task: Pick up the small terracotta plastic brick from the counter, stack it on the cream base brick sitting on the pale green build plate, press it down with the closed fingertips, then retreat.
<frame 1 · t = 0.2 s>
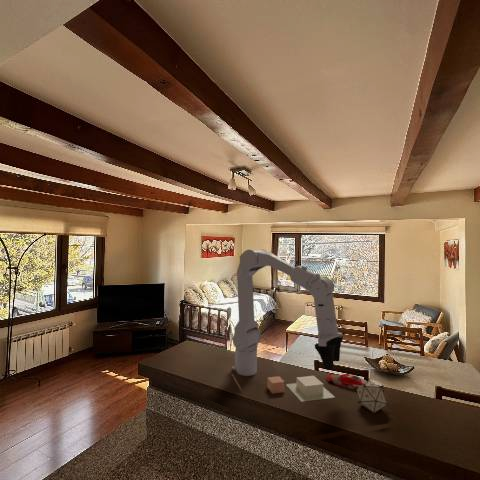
hand: (332, 365, 88), 11 cm above the breakfast bar, tool pointing down, fingers open, 7 cm apart
base brick: (309, 390, 93), point 1 cm above the breakfast bar, touching build plate
top brick: (275, 392, 93), on the breakfast bar
race car: (346, 388, 97), on the breakfast bar
build plate: (309, 393, 93), on the breakfast bar
game die: (371, 411, 83), on the breakfast bar
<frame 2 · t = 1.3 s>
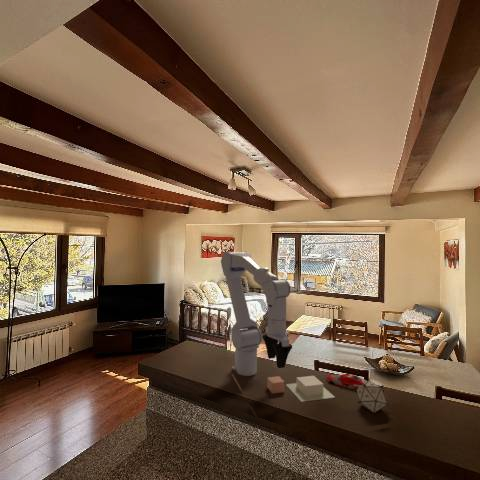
hand: (276, 362, 93), 9 cm above the breakfast bar, tool pointing down, fingers open, 7 cm apart
nothing on the breakfast bar moved.
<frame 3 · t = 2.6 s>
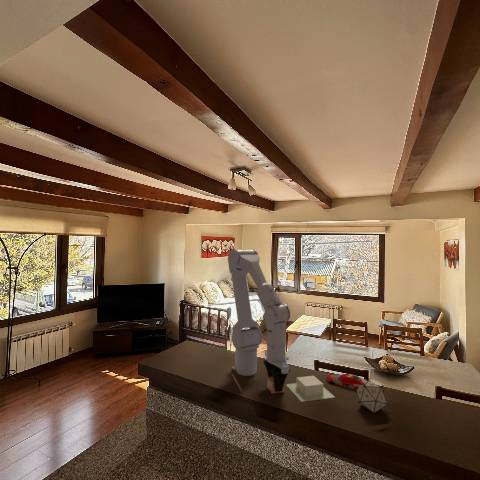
hand: (275, 387, 93), 1 cm above the breakfast bar, tool pointing down, fingers closed on top brick, 4 cm apart
top brick: (275, 392, 93), on the breakfast bar, touching gripper
everything else where it was.
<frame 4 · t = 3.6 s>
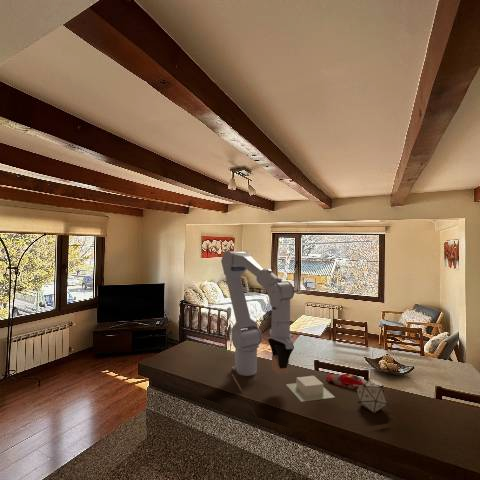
hand: (280, 364, 93), 8 cm above the breakfast bar, tool pointing down, fingers closed on top brick, 4 cm apart
top brick: (280, 370, 93), point 7 cm above the breakfast bar, touching gripper
everything else where it was.
when the fingers open (6 cm above the breakfast bar, at t = 4.8 s): top brick stays where it is, resting on base brick.
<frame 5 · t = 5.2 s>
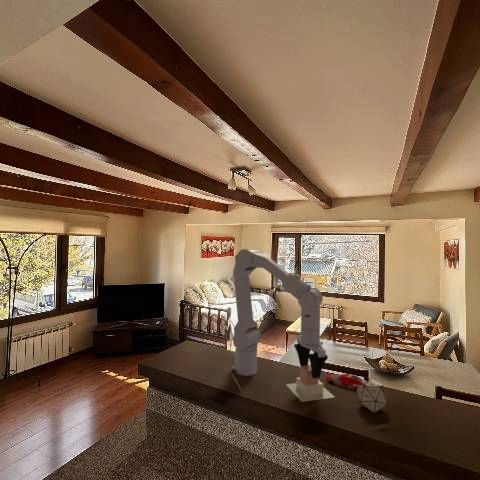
hand: (309, 372, 93), 6 cm above the breakfast bar, tool pointing down, fingers open, 7 cm apart
base brick: (309, 390, 93), point 1 cm above the breakfast bar, touching build plate, top brick
top brick: (309, 380, 93), point 4 cm above the breakfast bar, touching base brick
everything else where it was.
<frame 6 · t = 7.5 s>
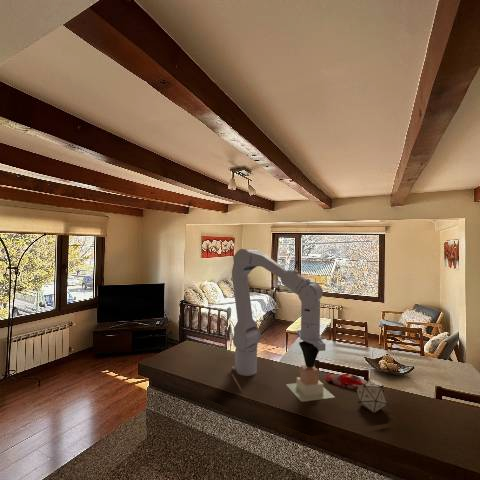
hand: (309, 366, 93), 8 cm above the breakfast bar, tool pointing down, fingers closed
nothing on the breakfast bar moved.
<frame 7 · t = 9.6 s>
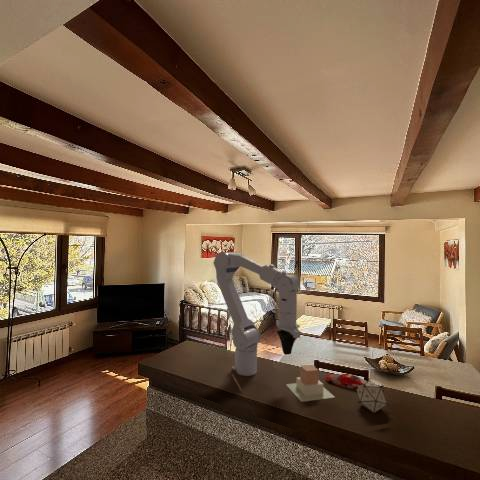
hand: (287, 353, 97), 10 cm above the breakfast bar, tool pointing down, fingers closed
nothing on the breakfast bar moved.
at the end: top brick 0.2 cm off-centre on the base brick, point 3.0 cm above the base brick's base; top brick tilted 0°; base brick moved 0.0 cm from its start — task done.
